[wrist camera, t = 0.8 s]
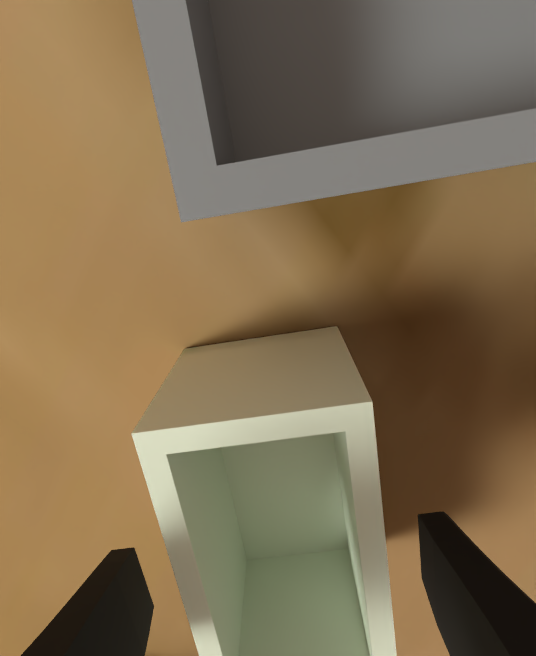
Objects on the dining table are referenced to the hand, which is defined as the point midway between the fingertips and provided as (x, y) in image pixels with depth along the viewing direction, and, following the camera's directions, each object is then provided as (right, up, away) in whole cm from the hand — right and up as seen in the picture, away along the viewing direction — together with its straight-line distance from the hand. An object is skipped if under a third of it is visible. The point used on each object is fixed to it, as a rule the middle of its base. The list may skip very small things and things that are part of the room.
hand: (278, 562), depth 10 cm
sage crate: (0, +1, +4) cm, 4 cm away
